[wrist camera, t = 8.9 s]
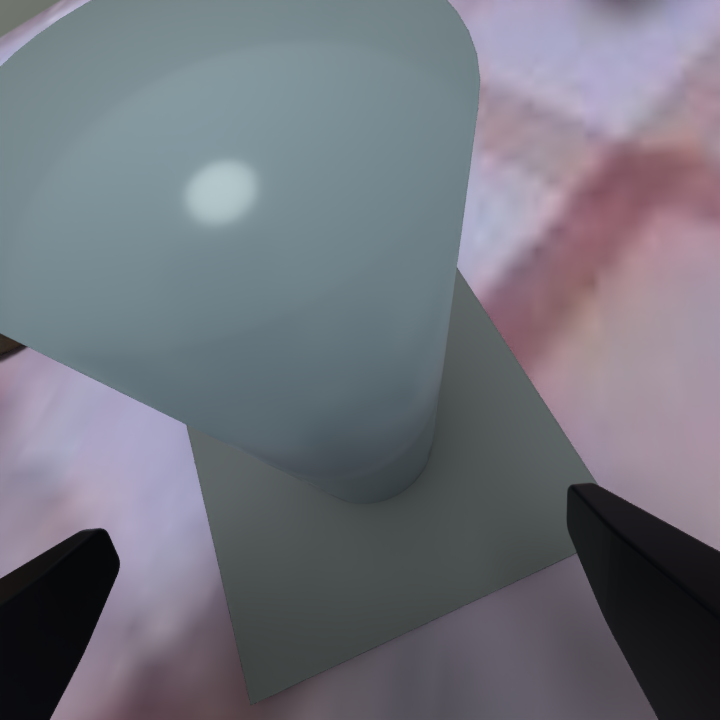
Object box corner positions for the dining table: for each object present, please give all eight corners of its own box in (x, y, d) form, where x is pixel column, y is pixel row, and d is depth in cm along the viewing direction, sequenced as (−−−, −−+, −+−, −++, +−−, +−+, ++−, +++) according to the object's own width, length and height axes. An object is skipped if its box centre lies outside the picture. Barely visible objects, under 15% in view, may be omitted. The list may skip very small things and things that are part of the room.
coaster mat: (620, 529, 15) (626, 529, 14) (256, 700, 14) (250, 705, 14) (440, 248, 21) (440, 242, 20) (176, 361, 20) (170, 356, 20)
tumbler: (408, 526, 15) (350, 462, 3) (275, 474, 17) (-195, 263, 4) (450, 389, 17) (538, -49, 4) (327, 352, 19) (121, -58, 6)
